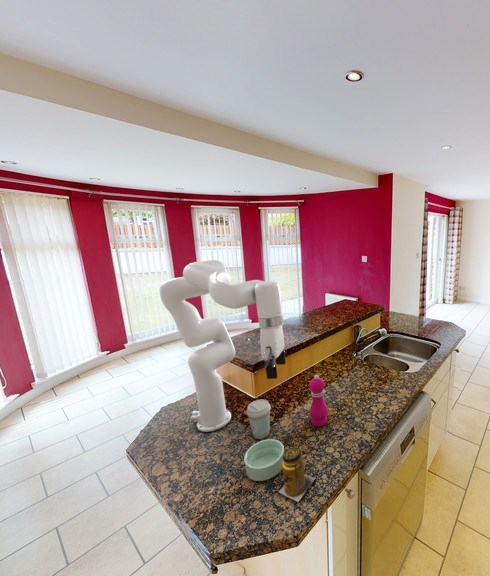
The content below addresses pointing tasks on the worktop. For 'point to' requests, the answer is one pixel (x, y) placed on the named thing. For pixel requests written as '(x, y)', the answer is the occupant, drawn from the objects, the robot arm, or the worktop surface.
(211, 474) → the worktop surface
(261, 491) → the worktop surface
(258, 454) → the bowl
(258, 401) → the coffee cup
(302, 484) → the condiment
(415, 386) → the worktop surface
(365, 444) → the worktop surface
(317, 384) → the pepper mill
